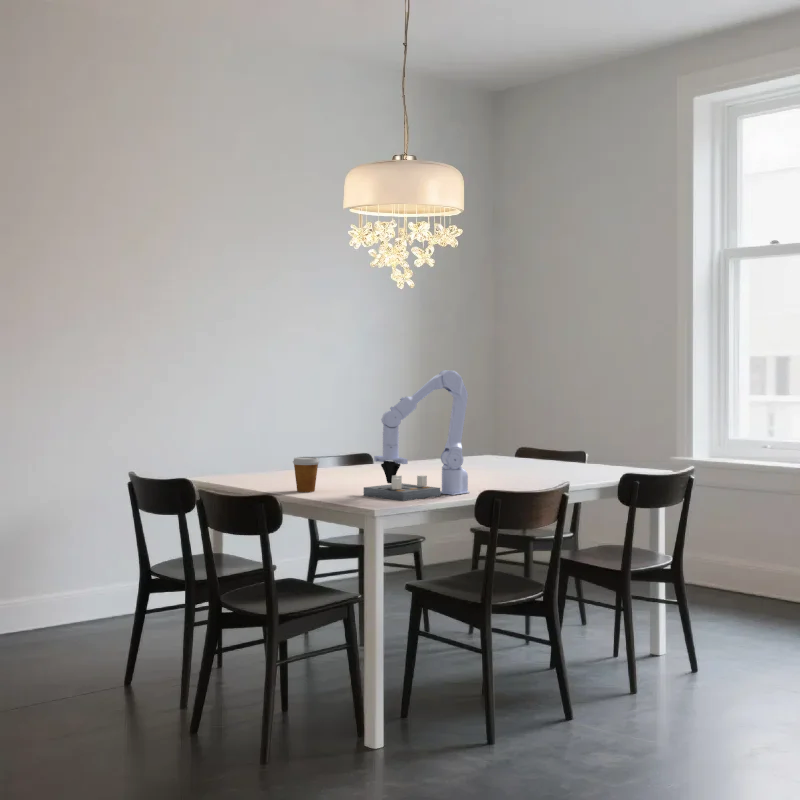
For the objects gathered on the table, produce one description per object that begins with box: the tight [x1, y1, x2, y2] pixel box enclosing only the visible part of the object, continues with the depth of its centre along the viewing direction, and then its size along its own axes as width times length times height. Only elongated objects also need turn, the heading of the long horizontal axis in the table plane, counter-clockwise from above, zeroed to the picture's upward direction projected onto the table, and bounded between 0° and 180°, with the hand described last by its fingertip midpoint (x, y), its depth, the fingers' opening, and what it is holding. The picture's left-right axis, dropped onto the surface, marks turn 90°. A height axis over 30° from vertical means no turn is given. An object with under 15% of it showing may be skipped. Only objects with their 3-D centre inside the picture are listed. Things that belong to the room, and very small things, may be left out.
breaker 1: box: [391, 477, 403, 489], centre depth 357 cm, size 2×2×4 cm
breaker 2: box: [416, 474, 428, 486], centre depth 367 cm, size 2×2×4 cm
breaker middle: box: [392, 474, 403, 486], centre depth 366 cm, size 2×2×4 cm
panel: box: [363, 483, 441, 502], centre depth 364 cm, size 19×19×3 cm
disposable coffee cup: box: [292, 456, 320, 493], centre depth 375 cm, size 10×10×12 cm
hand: (390, 483), depth 368 cm, fingers closed
